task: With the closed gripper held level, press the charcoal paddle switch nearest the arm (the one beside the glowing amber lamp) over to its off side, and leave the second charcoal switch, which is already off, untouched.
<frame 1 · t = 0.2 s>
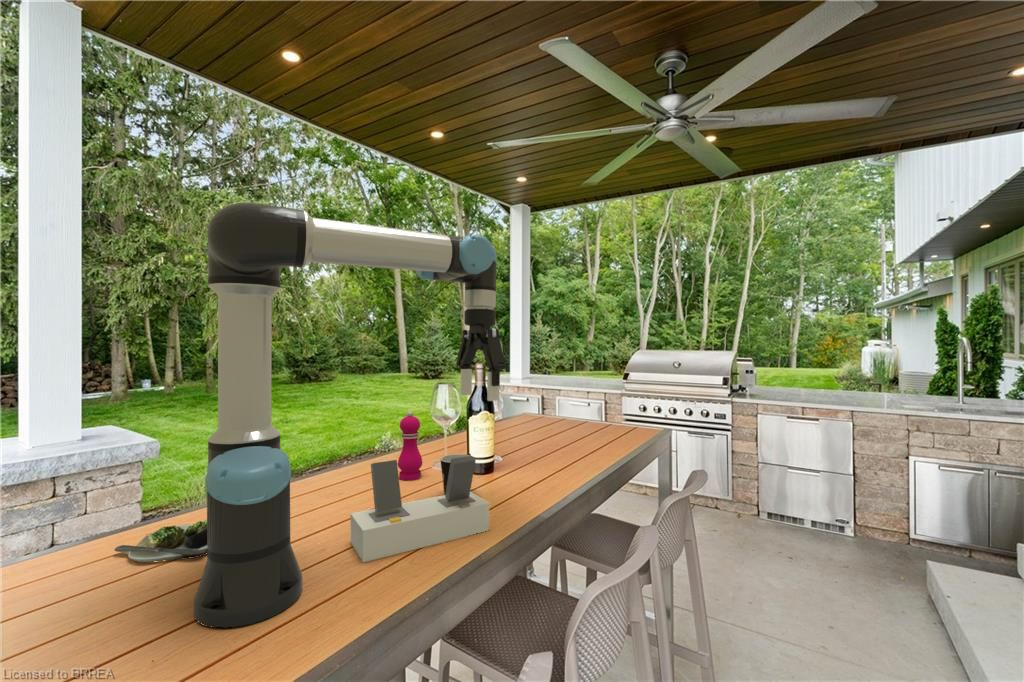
hand: (478, 397, 112), 28 cm above the table, tool pointing down, fingers open, 13 cm apart
coffee mug: (458, 494, 125), on the table
salad plate: (187, 547, 95), on the table
switch box: (422, 536, 99), on the table
near switch: (386, 485, 96), point 11 cm above the table, hinge at -20.0°
far switch: (460, 478, 101), point 11 cm above the table, hinge at 20.0°
pepper mill: (410, 478, 140), on the table
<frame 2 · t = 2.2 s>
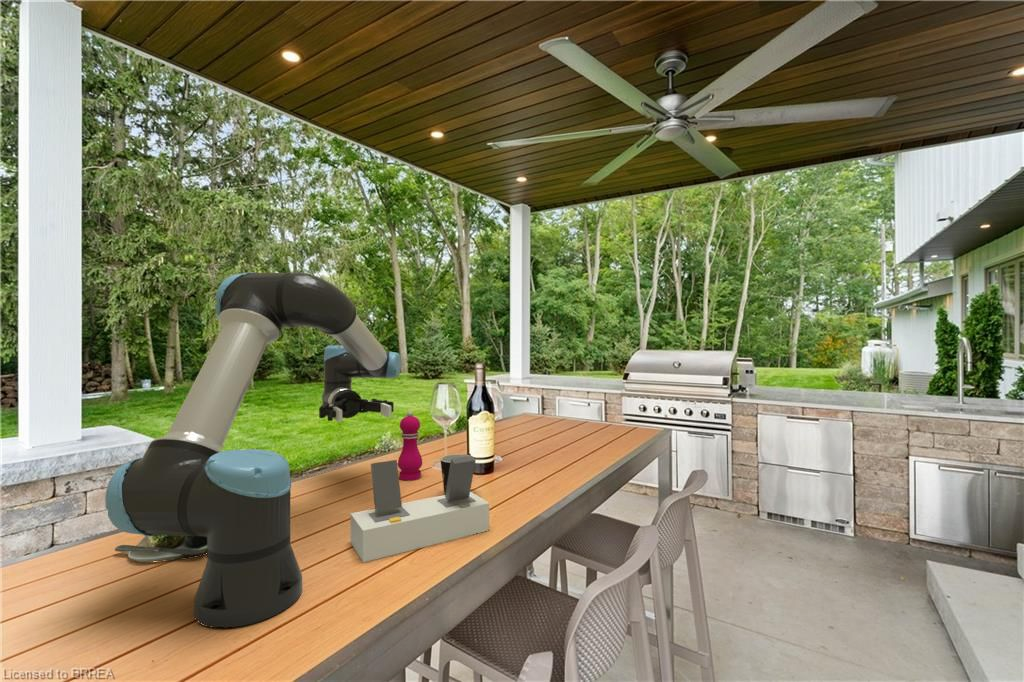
hand: (365, 414, 110), 24 cm above the table, tool horizontal, fingers open, 11 cm apart
nothing on the table moved.
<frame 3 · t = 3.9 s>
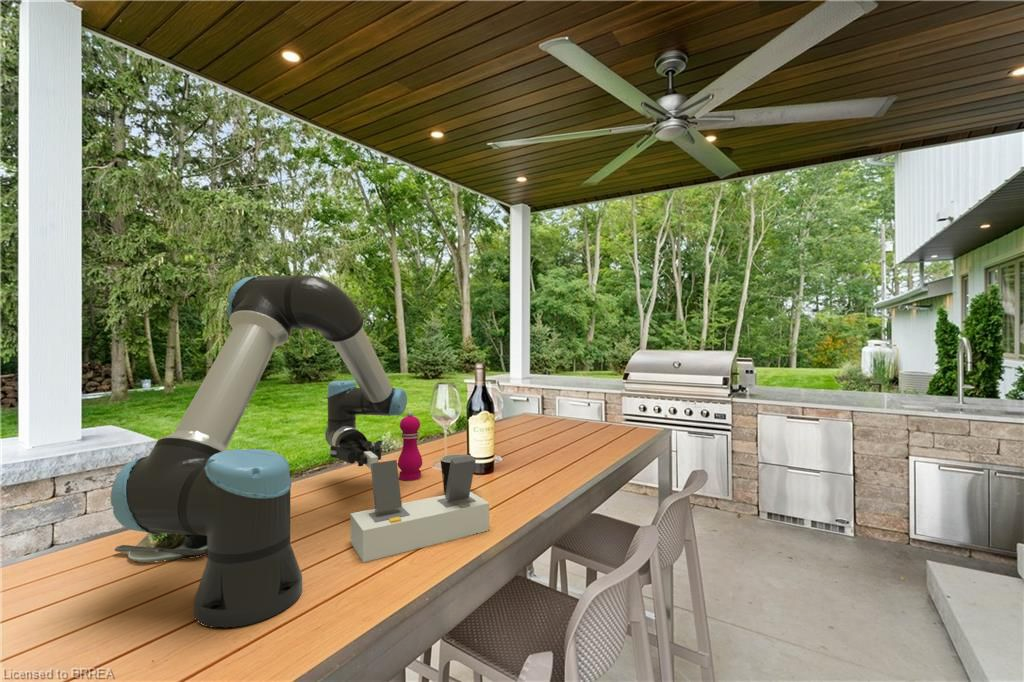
hand: (374, 463, 104), 14 cm above the table, tool horizontal, fingers closed
nothing on the table moved.
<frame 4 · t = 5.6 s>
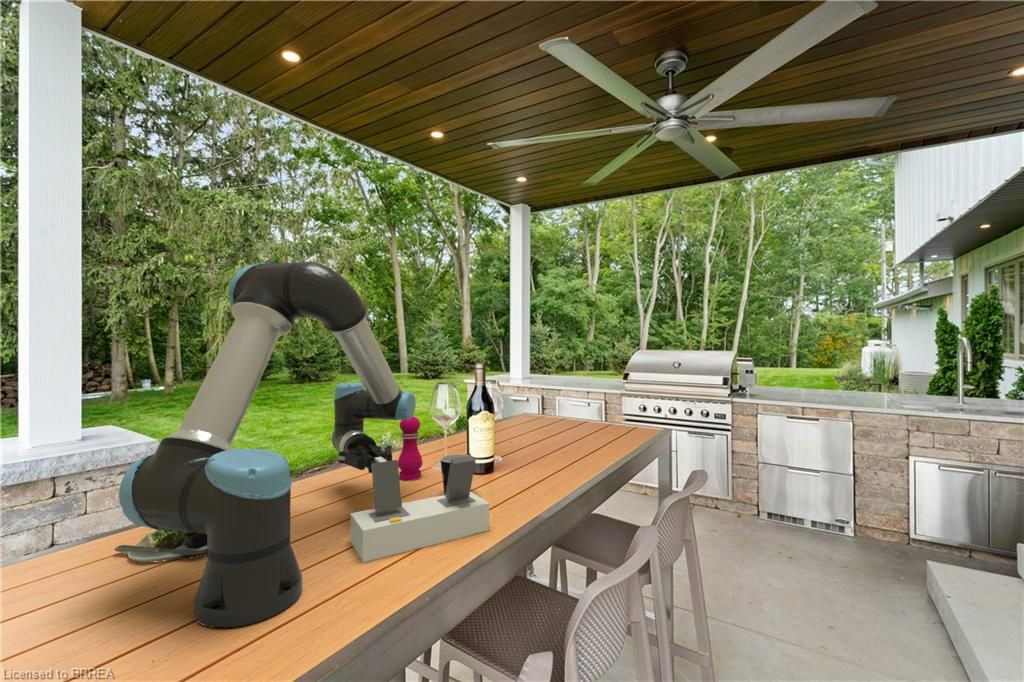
hand: (386, 470, 98), 14 cm above the table, tool horizontal, fingers closed
near switch: (386, 485, 96), point 12 cm above the table, hinge at -16.8°, touching gripper
everything else where it was.
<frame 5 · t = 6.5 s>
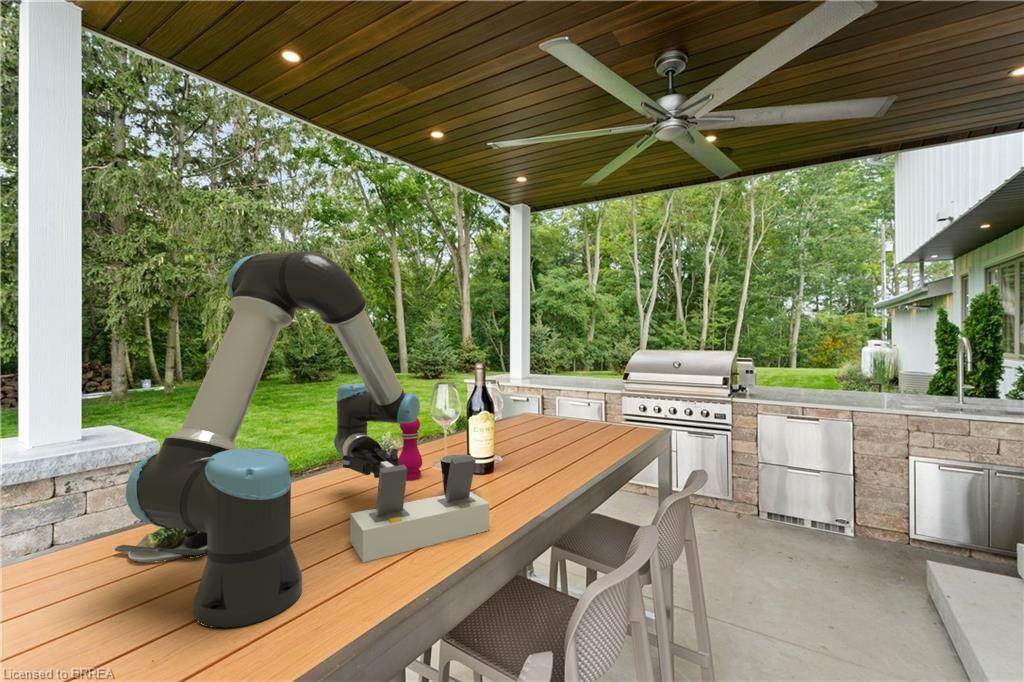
hand: (393, 475, 94), 14 cm above the table, tool horizontal, fingers closed
near switch: (391, 489, 93), point 12 cm above the table, hinge at 16.7°, touching gripper
everything else where it was.
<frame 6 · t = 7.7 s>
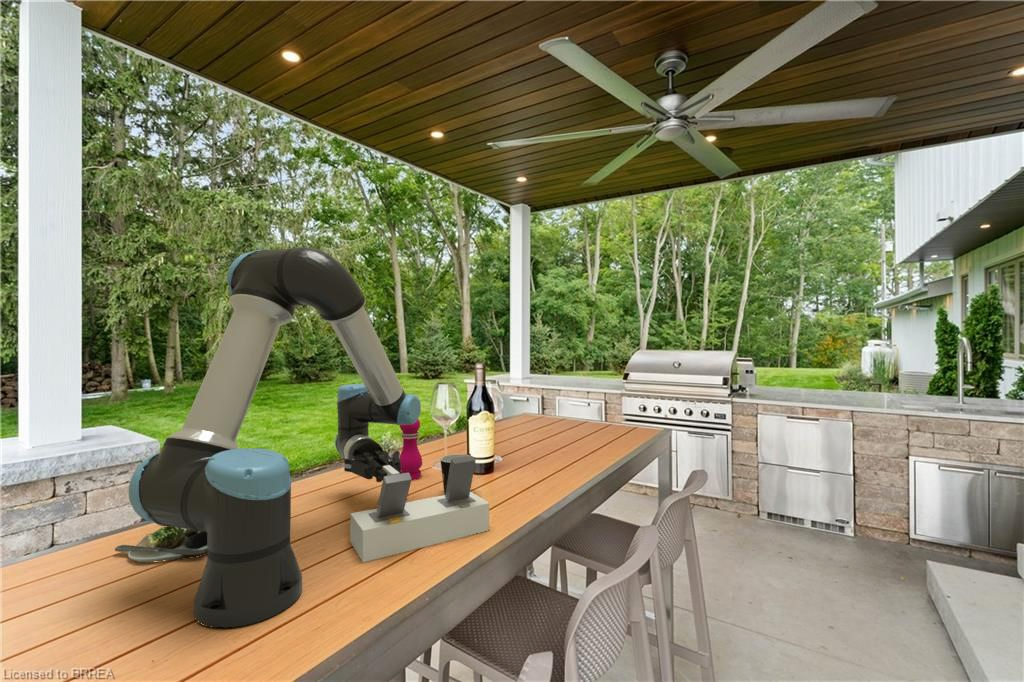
hand: (396, 480, 93), 14 cm above the table, tool horizontal, fingers closed
near switch: (393, 495, 92), point 11 cm above the table, hinge at 32.0°, touching gripper
everything else where it was.
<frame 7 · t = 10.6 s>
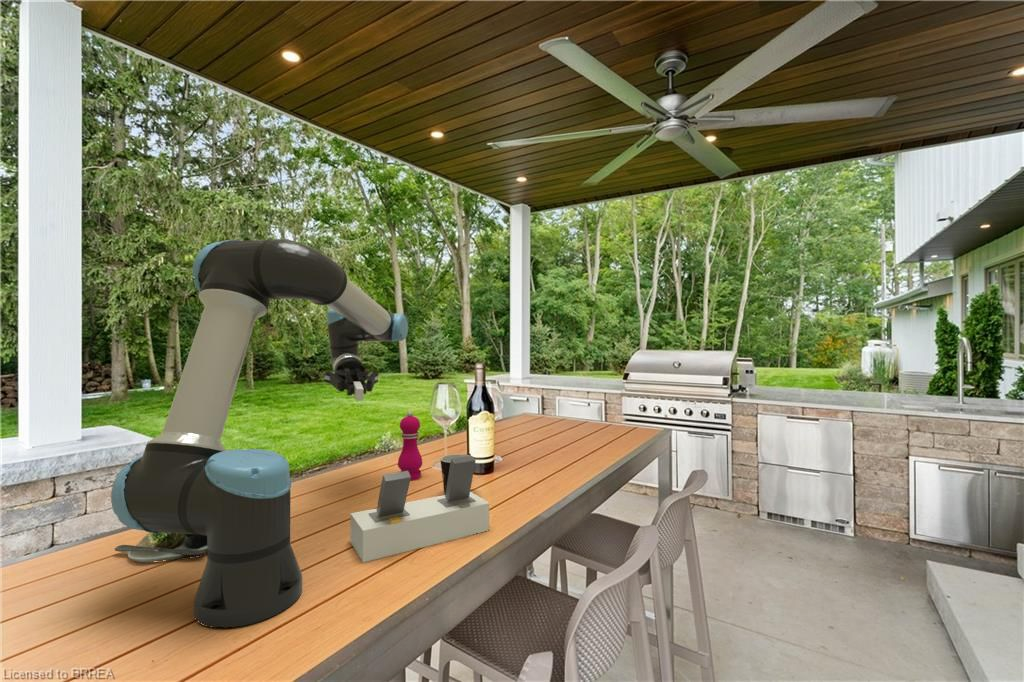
hand: (359, 394, 102), 29 cm above the table, tool horizontal, fingers closed
near switch: (393, 494, 92), point 11 cm above the table, hinge at 29.0°
everything else where it was.
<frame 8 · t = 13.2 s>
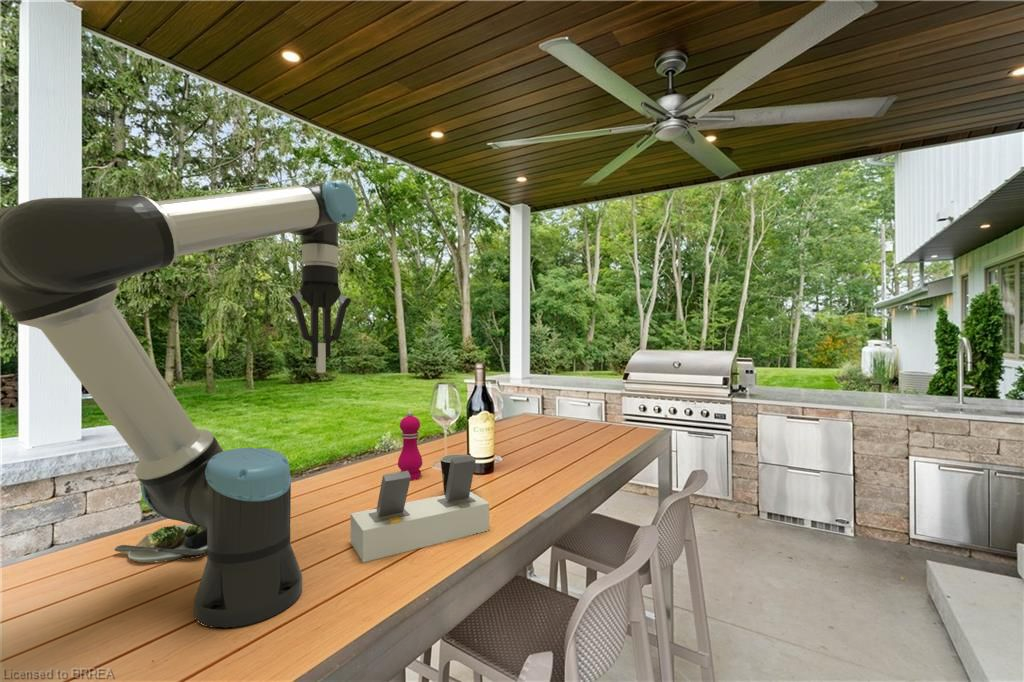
hand: (321, 372, 104), 34 cm above the table, tool pointing down, fingers closed
nothing on the table moved.
at the end: near switch at +29° (first picture: -20°); far switch at +20° (first picture: +20°) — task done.
